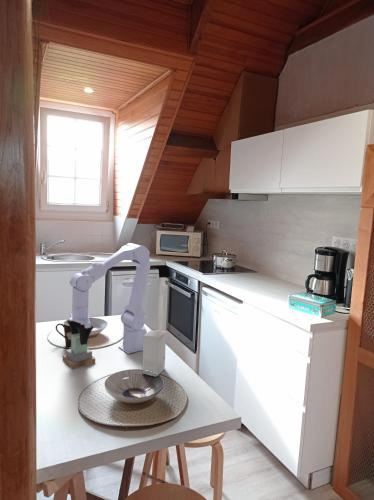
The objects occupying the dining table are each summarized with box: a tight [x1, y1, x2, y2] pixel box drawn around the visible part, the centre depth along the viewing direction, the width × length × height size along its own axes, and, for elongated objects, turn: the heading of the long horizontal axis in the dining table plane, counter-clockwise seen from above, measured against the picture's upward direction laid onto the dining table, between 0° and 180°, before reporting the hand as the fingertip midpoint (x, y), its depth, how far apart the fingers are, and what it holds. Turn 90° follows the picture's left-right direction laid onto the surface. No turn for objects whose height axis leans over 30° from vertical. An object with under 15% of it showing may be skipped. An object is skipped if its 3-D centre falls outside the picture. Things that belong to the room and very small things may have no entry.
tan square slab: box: [62, 354, 96, 370], centre depth 139 cm, size 9×9×2 cm
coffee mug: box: [55, 319, 82, 348], centre depth 154 cm, size 12×9×10 cm
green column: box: [70, 333, 88, 354], centre depth 138 cm, size 4×4×6 cm
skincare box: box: [141, 328, 167, 375], centre depth 133 cm, size 8×6×15 cm
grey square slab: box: [65, 348, 93, 363], centre depth 138 cm, size 7×7×2 cm
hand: (79, 340), depth 138 cm, fingers open, 7 cm apart
